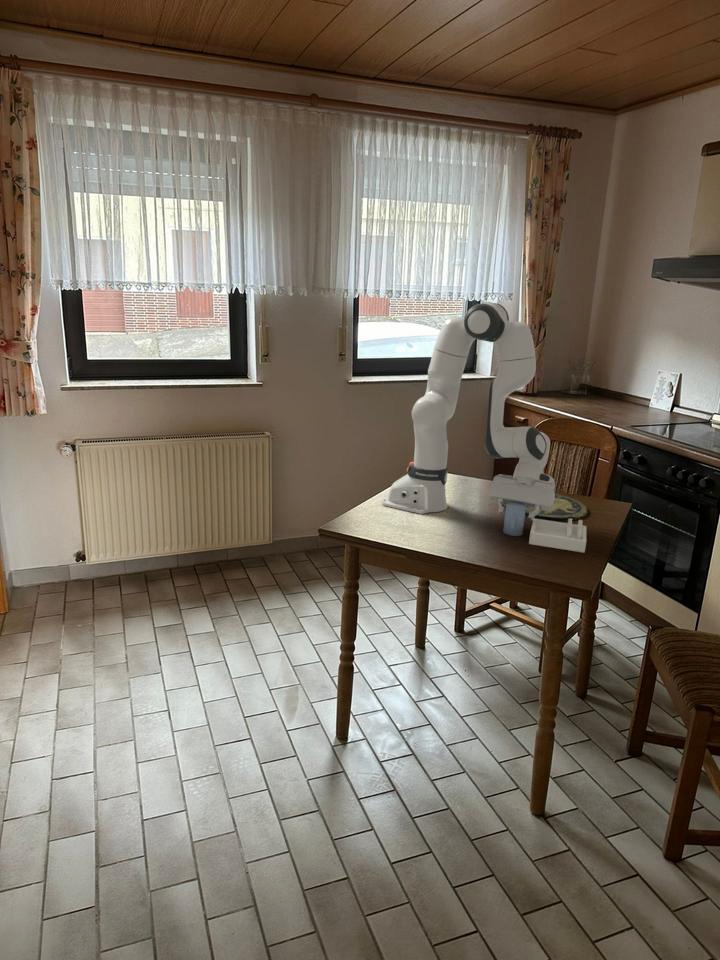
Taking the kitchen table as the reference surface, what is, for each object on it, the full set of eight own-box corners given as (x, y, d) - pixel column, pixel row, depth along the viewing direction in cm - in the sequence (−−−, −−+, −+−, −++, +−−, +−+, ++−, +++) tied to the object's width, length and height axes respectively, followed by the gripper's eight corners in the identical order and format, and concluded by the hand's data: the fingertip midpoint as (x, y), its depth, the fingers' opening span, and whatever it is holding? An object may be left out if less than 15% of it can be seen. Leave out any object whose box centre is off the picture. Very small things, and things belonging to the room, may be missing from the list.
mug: (501, 535, 207) (504, 508, 204) (504, 527, 213) (507, 500, 211) (521, 538, 205) (524, 511, 202) (523, 530, 212) (526, 503, 209)
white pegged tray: (528, 543, 201) (531, 525, 199) (532, 528, 214) (534, 510, 212) (584, 552, 197) (587, 533, 195) (584, 536, 209) (587, 518, 208)
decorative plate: (500, 511, 224) (500, 485, 252) (499, 516, 225) (499, 490, 253) (593, 522, 219) (582, 494, 247) (592, 527, 220) (582, 499, 248)
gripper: (494, 468, 216) (481, 504, 210) (558, 478, 207) (547, 517, 201) (496, 478, 221) (484, 514, 215) (559, 489, 212) (548, 527, 206)
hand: (515, 516), depth 208 cm, fingers open, 8 cm apart
